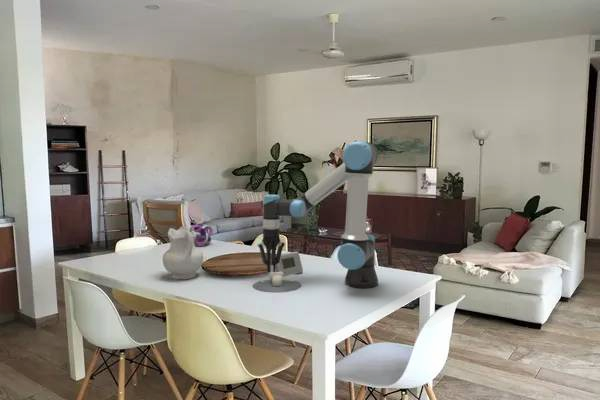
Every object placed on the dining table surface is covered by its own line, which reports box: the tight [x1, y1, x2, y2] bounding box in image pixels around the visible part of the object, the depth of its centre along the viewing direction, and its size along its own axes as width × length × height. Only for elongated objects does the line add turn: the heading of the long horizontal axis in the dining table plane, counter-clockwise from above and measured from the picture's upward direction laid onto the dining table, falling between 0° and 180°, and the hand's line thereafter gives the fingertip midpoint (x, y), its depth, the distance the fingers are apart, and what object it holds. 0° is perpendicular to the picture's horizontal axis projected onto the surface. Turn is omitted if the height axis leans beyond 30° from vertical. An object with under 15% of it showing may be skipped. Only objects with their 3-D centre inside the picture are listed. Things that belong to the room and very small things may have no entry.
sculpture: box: [189, 223, 214, 248], centre depth 307 cm, size 16×17×20 cm
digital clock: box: [275, 251, 304, 278], centre depth 230 cm, size 16×9×11 cm, turn 123°
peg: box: [271, 271, 283, 286], centre depth 212 cm, size 13×5×6 cm, turn 15°
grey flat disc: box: [252, 278, 302, 294], centre depth 208 cm, size 22×22×1 cm
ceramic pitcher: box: [162, 225, 204, 280], centre depth 225 cm, size 22×20×25 cm
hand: (270, 278), depth 214 cm, fingers closed
